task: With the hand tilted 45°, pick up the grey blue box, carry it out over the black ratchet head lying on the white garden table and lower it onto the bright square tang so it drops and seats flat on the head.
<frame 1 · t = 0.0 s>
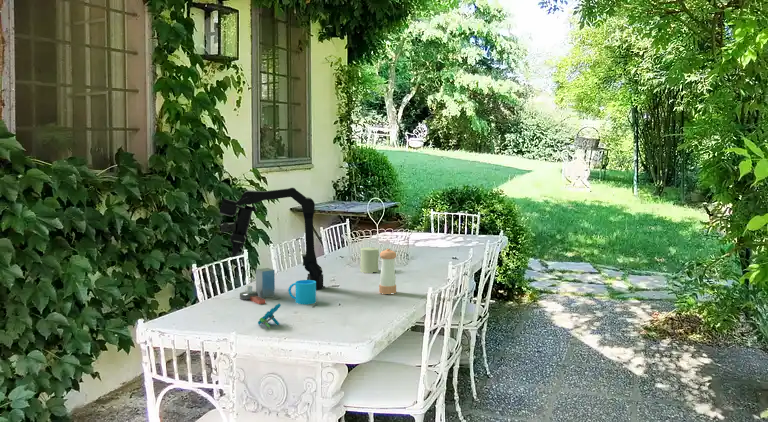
hand: (234, 254, 276), 15 cm above the table, tool pointing down, fingers open, 9 cm apart
can: (369, 271, 322), on the table
mug: (301, 302, 259), on the table
teal plastic angular piece: (268, 325, 225), on the table
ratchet: (248, 298, 263), on the table
grey blue box: (265, 295, 268), on the table
salt shaker: (387, 293, 275), on the table
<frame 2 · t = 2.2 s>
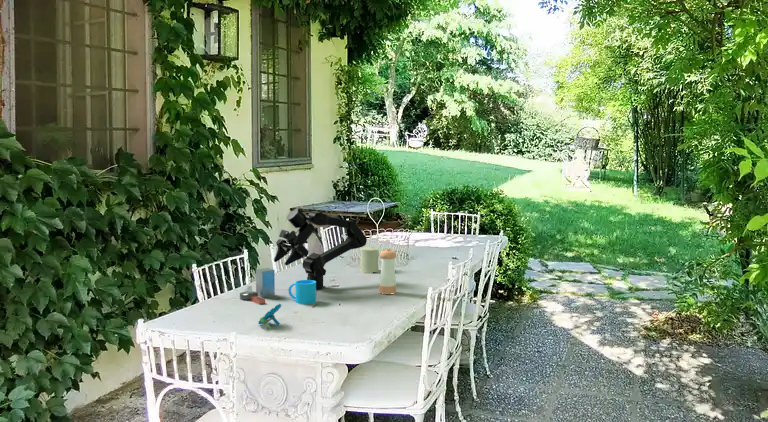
hand: (279, 263, 271), 13 cm above the table, tool tilted 45°, fingers open, 9 cm apart
nothing on the table moved.
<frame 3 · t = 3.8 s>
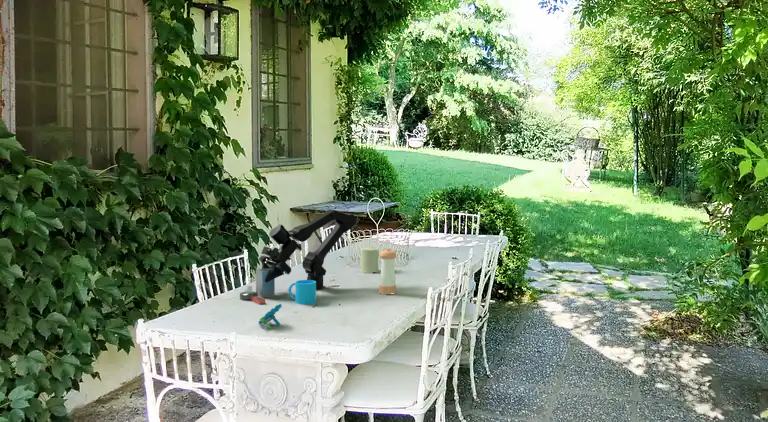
hand: (262, 280, 266), 7 cm above the table, tool tilted 45°, fingers closed on grey blue box, 6 cm apart
grey blue box: (265, 295, 268), on the table, touching gripper
everything else where it was.
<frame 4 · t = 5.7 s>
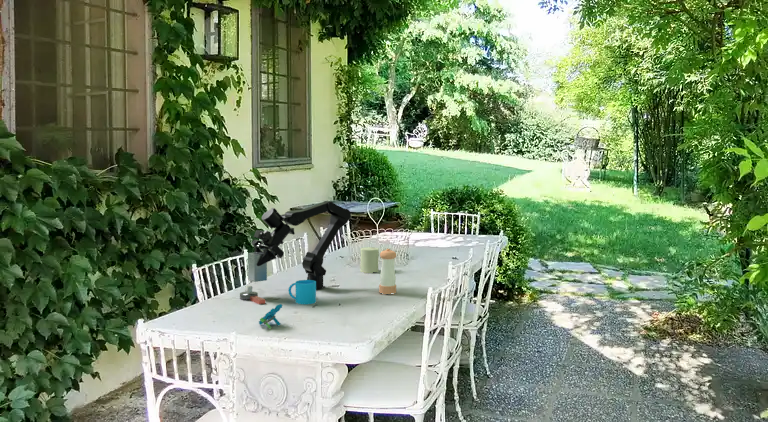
hand: (254, 264, 263), 14 cm above the table, tool tilted 45°, fingers closed on grey blue box, 6 cm apart
grey blue box: (257, 279, 265), point 7 cm above the table, touching gripper
everything else where it was.
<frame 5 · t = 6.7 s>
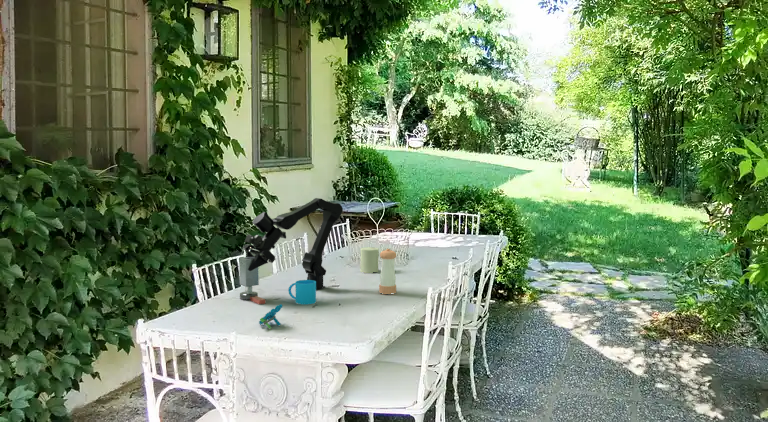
hand: (245, 269, 261), 12 cm above the table, tool tilted 45°, fingers closed on grey blue box, 6 cm apart
grey blue box: (249, 284, 263), point 6 cm above the table, touching gripper
everything else where it was.
when the fingers open (10 cm above the table, at t = 7.6 s): grey blue box drops 1 cm, resting on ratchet.
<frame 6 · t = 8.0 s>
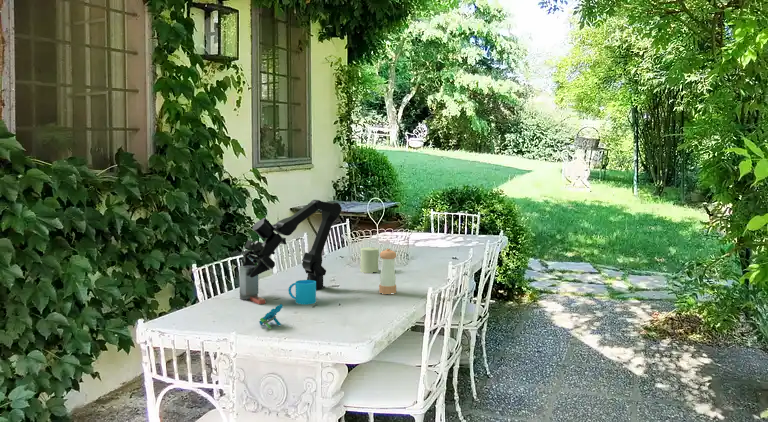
hand: (245, 275, 261), 10 cm above the table, tool tilted 45°, fingers open, 9 cm apart
grey blue box: (249, 293, 263), point 2 cm above the table, touching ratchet
everything else where it was.
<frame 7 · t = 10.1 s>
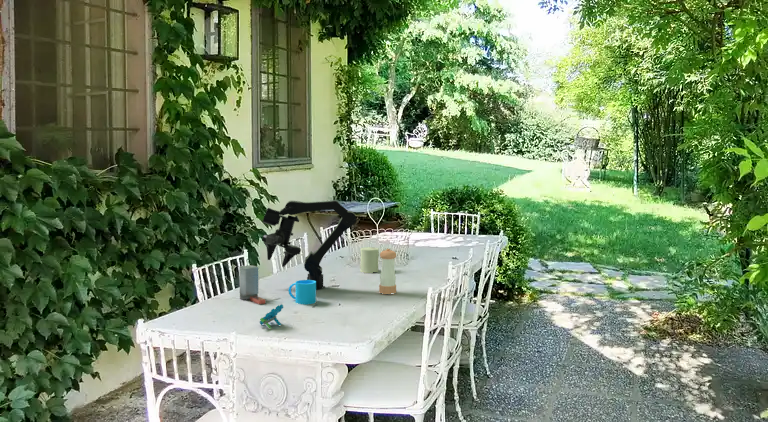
hand: (275, 263, 280), 11 cm above the table, tool tilted 15°, fingers open, 9 cm apart
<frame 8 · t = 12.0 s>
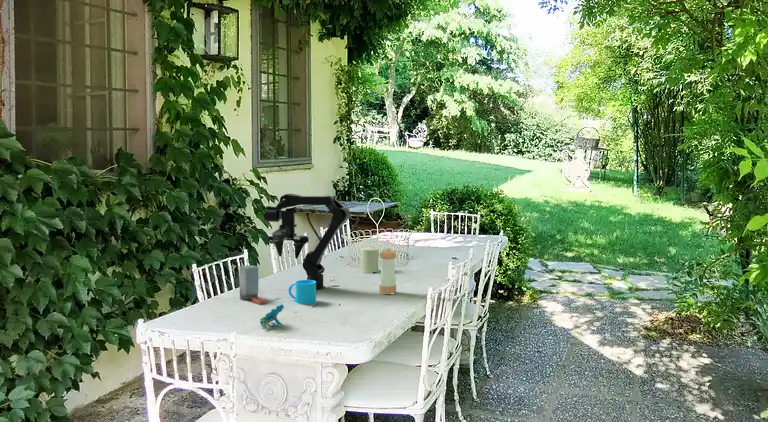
hand: (288, 257, 284), 13 cm above the table, tool pointing down, fingers open, 9 cm apart
at the end: grey blue box 0.1 cm off-centre on the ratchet, point 2.0 cm above the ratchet's base; grey blue box tilted 0°; the gripper is holding nothing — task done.
